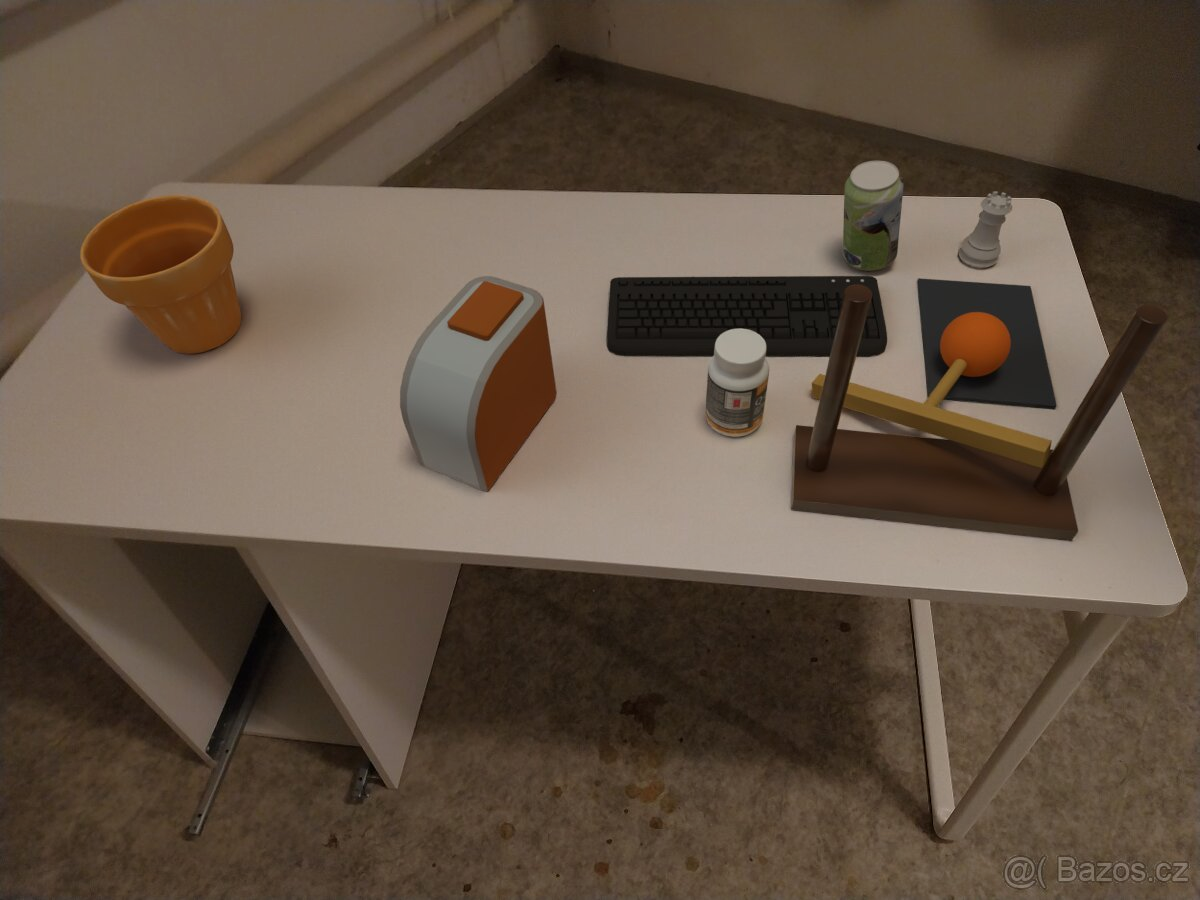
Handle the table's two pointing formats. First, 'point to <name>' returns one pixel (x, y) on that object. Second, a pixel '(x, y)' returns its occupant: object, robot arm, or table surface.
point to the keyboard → (735, 314)
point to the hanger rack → (948, 452)
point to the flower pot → (168, 269)
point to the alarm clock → (478, 381)
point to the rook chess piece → (986, 233)
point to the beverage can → (872, 215)
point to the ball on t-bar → (967, 351)
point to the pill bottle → (737, 383)
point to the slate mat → (1026, 361)
